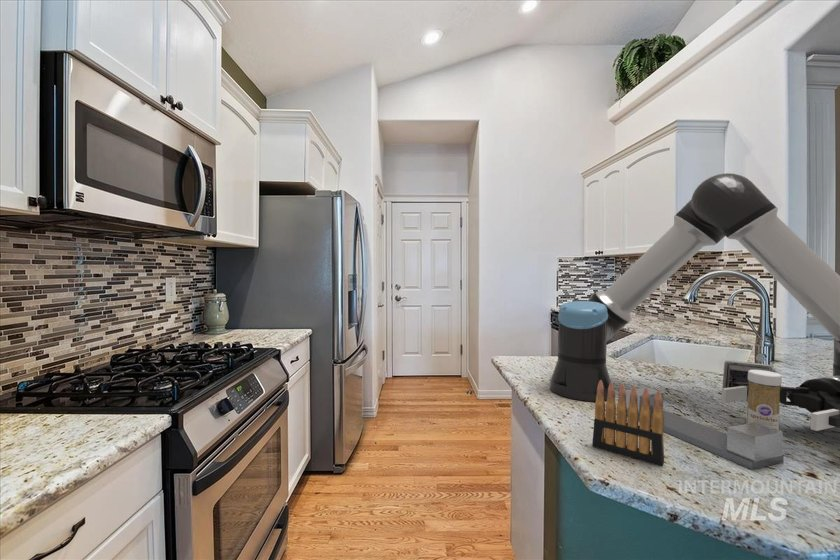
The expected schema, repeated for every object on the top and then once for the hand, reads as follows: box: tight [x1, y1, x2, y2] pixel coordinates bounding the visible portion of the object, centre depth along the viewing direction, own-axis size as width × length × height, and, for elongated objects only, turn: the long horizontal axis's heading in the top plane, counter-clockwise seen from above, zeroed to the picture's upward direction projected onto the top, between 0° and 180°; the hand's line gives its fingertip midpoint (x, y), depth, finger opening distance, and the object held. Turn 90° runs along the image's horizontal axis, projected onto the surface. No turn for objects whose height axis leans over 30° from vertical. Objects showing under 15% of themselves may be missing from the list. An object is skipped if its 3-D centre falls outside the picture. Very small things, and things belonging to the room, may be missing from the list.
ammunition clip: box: [591, 380, 665, 467], centre depth 65 cm, size 11×2×12 cm, turn 52°
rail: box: [625, 387, 785, 470], centre depth 73 cm, size 25×8×5 cm, turn 19°
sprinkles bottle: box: [746, 370, 783, 431], centre depth 69 cm, size 5×5×14 cm
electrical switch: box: [721, 359, 773, 399], centre depth 96 cm, size 9×5×9 cm, turn 57°
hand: (764, 407), depth 68 cm, fingers open, 13 cm apart
